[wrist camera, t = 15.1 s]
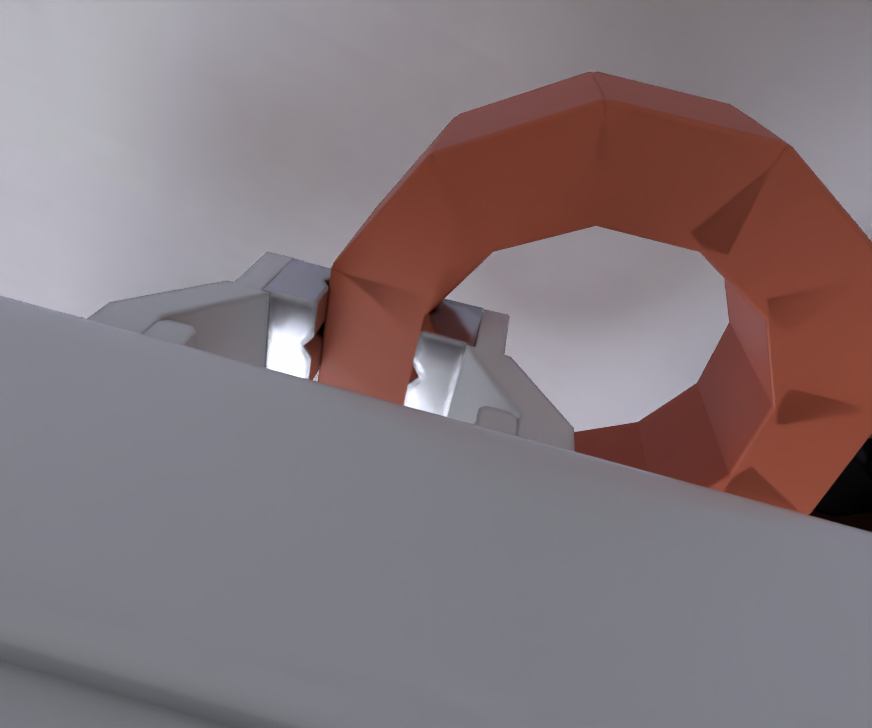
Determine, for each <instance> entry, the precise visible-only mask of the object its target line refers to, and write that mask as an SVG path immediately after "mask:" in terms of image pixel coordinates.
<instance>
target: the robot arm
mask: <svg viewBox="0 0 872 728" xmlns="http://www.w3.org/2000/svg"><path fill="white" fill-rule="evenodd" d="M330 273H331V269H330V268H327V267H323V266H320V265H316V264H312V263H309V262H305V261H302V260H298V259H294V258H293V257H290V256H285V255H281V254H277V253H272V252H266V253H265V254H264V255H263V256H262V257H261V258H260V259H259V260H258V261H257V262H256V263H255V264H253V265H252V266H251V267H250V268H249V269H248V270H247V271H246V272H245V273H244V274H243V275H242V276H241V277H239V278H238V279H237V280H236V281H235V282H230V281H222V282H217V283H211V284H206V285H200V286H195V287H190V288H184V289H179V290H173V291H168V292H162V293H157V294H152V295H146V296H141V297H135V298H130V299H125V300H119V301H114V302H109V303H108V304H107V305H105V306H104V307H103V308H101V309H100V310H98V311H97V312H96V313H94V314H93V315H91V316H90V317H89V318H87V319H85V318H81V317H77V316H74V315H70V314H66V313H63V312H59V311H55V310H52V309H48V308H44V307H40V306H37V305H33V304H29V303H26V302H22V301H18V300H15V299H11V298H7V297H4V296H0V728H872V532H869V531H866V530H862V529H858V528H855V527H851V526H847V525H843V524H840V523H836V522H832V521H829V520H825V519H821V518H818V517H814V516H810V515H807V514H803V513H799V512H796V511H792V510H788V509H784V508H781V507H777V506H773V505H770V504H766V503H762V502H759V501H755V500H751V499H748V498H744V497H740V496H736V495H733V494H729V493H725V492H722V491H718V490H714V489H711V488H707V487H703V486H700V485H696V484H692V483H689V482H685V481H681V480H677V479H674V478H670V477H666V476H663V475H659V474H655V473H652V472H648V471H644V470H641V469H637V468H633V467H629V466H626V465H622V464H618V463H615V462H611V461H607V460H604V459H600V458H596V457H593V456H589V455H585V454H581V453H578V452H575V448H574V428H573V427H572V426H571V425H570V423H569V422H568V421H567V420H566V419H565V418H564V417H563V415H562V414H561V413H560V412H559V411H558V410H557V409H556V408H555V406H554V405H553V404H552V403H551V402H550V401H549V400H548V398H547V397H546V396H545V395H544V394H543V393H542V392H541V391H540V389H539V388H538V387H537V386H536V385H535V384H534V383H533V381H532V380H531V379H530V378H529V377H528V376H527V375H526V374H525V372H524V371H523V370H522V369H521V368H520V367H519V366H518V364H517V363H516V362H515V361H514V360H513V359H512V358H511V357H510V356H506V355H504V353H505V345H506V338H507V331H508V323H509V315H508V314H504V313H499V312H495V311H490V310H485V309H484V310H483V308H481V307H476V306H472V305H468V304H464V303H460V302H456V301H452V300H447V299H443V300H442V301H441V302H440V303H439V304H438V305H437V306H436V307H435V308H434V309H433V310H432V311H431V312H430V313H429V314H427V315H426V317H425V320H424V323H423V326H422V328H421V331H420V334H419V339H418V343H417V347H416V351H415V356H414V360H413V366H414V369H413V372H412V375H411V377H410V380H409V383H408V386H407V391H406V396H405V400H404V405H401V404H397V403H394V402H390V401H386V400H383V399H379V398H375V397H371V396H368V395H364V394H360V393H357V392H353V391H349V390H346V389H342V388H338V387H335V386H331V385H327V384H324V383H320V382H316V381H313V378H314V377H315V375H316V373H317V372H318V370H319V366H320V359H321V351H322V344H323V333H324V325H325V320H326V311H327V303H328V294H329V282H330ZM482 311H483V312H482Z"/></svg>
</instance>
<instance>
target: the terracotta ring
mask: <svg viewBox="0 0 872 728" xmlns="http://www.w3.org/2000/svg"><path fill="white" fill-rule="evenodd" d="M593 226H599V227H603V228H607V229H611V230H615V231H619V232H623V233H627V234H631V235H635V236H639V237H643V238H647V239H651V240H655V241H659V242H663V243H667V244H671V245H675V246H679V247H683V248H687V249H690V250H694V251H698V252H700V253H701V254H702V255H703V256H704V257H705V258H706V259H707V260H708V261H709V262H710V263H711V265H712V266H713V267H714V268H715V269H716V270H717V271H718V272H719V273H720V274H721V275H722V276H723V277H724V280H725V289H726V298H727V307H728V315H729V324H728V326H727V328H726V330H725V332H724V333H723V335H722V337H721V339H720V341H719V343H718V345H717V347H716V348H715V350H714V352H713V354H712V356H711V358H710V360H709V362H708V364H707V365H706V367H705V369H704V371H703V373H702V375H701V377H700V379H699V380H698V382H697V383H696V384H695V385H693V386H692V387H690V388H689V389H687V390H686V391H684V392H683V393H681V394H680V395H678V396H677V397H675V398H674V399H672V400H671V401H669V402H668V403H666V404H665V405H663V406H662V407H660V408H659V409H657V410H656V411H654V412H652V413H651V414H649V415H648V416H646V417H645V418H643V419H642V420H640V421H639V422H635V423H629V424H623V425H617V426H610V427H604V428H598V429H591V430H585V431H579V432H574V448H575V452H578V453H581V454H585V455H589V456H593V457H596V458H600V459H604V460H607V461H611V462H615V463H618V464H622V465H626V466H629V467H633V468H637V469H641V470H644V471H648V472H652V473H655V474H659V475H663V476H666V477H670V478H674V479H677V480H681V481H685V482H689V483H692V484H696V485H700V486H703V487H707V488H711V489H714V490H718V491H722V492H725V493H729V494H733V495H736V496H740V497H744V498H748V499H751V500H755V501H759V502H762V503H766V504H770V505H773V506H777V507H781V508H784V509H788V510H792V511H796V512H799V513H803V514H807V515H809V514H810V513H811V512H812V511H813V510H814V508H815V507H816V506H817V504H818V503H819V502H820V500H821V499H822V498H823V496H824V495H825V494H826V493H827V491H828V490H829V489H830V487H831V486H832V485H833V483H834V482H835V481H836V479H837V478H838V477H839V476H840V474H841V473H842V472H843V470H844V469H845V468H846V466H847V465H848V464H849V462H850V461H851V460H852V459H853V457H854V456H855V455H856V453H857V452H858V451H859V449H860V448H861V447H862V445H863V444H864V443H865V442H866V440H867V439H868V438H869V436H870V435H871V434H872V242H871V240H870V239H869V238H868V237H867V236H866V234H865V233H864V232H863V231H862V230H861V228H860V227H859V226H858V225H857V224H856V222H855V221H854V220H853V219H852V218H851V216H850V215H849V214H848V213H847V212H846V210H845V209H844V208H843V207H842V206H841V204H840V203H839V202H838V201H837V200H836V199H835V197H834V196H833V195H832V194H831V193H830V191H829V190H828V189H827V188H826V187H825V185H824V184H823V183H822V182H821V181H820V179H819V178H818V177H817V176H816V175H815V173H814V172H813V171H812V170H811V169H810V167H809V166H808V165H807V164H806V163H805V161H804V160H803V159H802V158H801V157H800V156H799V154H798V153H797V152H796V151H795V150H794V148H793V147H792V146H790V145H789V144H788V143H786V142H785V141H783V140H782V139H780V138H779V137H778V136H776V135H775V134H773V133H772V132H770V131H769V130H767V129H766V128H765V127H763V126H762V125H760V124H759V123H757V122H756V121H755V120H753V119H752V118H750V117H749V116H747V115H746V114H745V113H743V112H742V111H740V110H739V109H737V108H735V107H734V106H732V105H731V104H727V103H723V102H719V101H715V100H711V99H707V98H703V97H699V96H695V95H691V94H686V93H682V92H678V91H674V90H670V89H666V88H662V87H658V86H654V85H650V84H646V83H642V82H638V81H633V80H629V79H625V78H621V77H617V76H613V75H609V74H605V73H601V72H594V73H593V72H587V73H584V74H581V75H578V76H575V77H572V78H569V79H565V80H562V81H559V82H556V83H553V84H550V85H547V86H544V87H541V88H538V89H535V90H532V91H529V92H526V93H523V94H519V95H516V96H513V97H510V98H507V99H504V100H501V101H498V102H495V103H492V104H489V105H486V106H483V107H480V108H477V109H473V110H470V111H467V112H464V113H461V114H459V115H458V116H456V117H454V118H453V119H452V120H451V122H450V123H449V124H448V125H447V126H446V127H445V129H444V130H443V131H442V132H441V133H440V134H439V136H438V137H437V138H436V139H435V140H434V141H433V142H432V144H431V145H430V146H429V147H428V148H427V149H426V151H425V152H424V153H423V154H422V155H421V156H420V158H419V159H418V160H417V161H416V162H415V163H414V164H413V166H412V167H411V168H410V169H409V170H408V171H407V173H406V174H405V175H404V176H403V177H402V178H401V179H400V181H399V182H398V183H397V184H396V185H395V186H394V188H393V189H392V190H391V191H390V192H389V193H388V195H387V196H386V197H385V198H384V199H383V200H382V201H381V203H380V204H379V205H378V206H377V207H376V208H375V210H374V211H373V212H372V214H371V215H370V216H369V217H368V219H367V220H366V221H365V223H364V224H363V225H362V227H361V228H360V229H359V230H358V232H357V233H356V234H355V236H354V237H353V238H352V240H351V241H350V242H349V243H348V245H347V246H346V247H345V249H344V250H343V251H342V252H341V254H340V255H339V256H338V258H337V259H336V260H335V262H334V263H333V266H332V268H331V273H330V282H329V294H328V303H327V311H326V320H325V325H324V333H323V344H322V351H321V359H320V367H319V376H318V382H320V383H324V384H327V385H331V386H335V387H338V388H342V389H346V390H349V391H353V392H357V393H360V394H364V395H368V396H371V397H375V398H379V399H383V400H386V401H390V402H394V403H397V404H401V405H404V400H405V396H406V391H407V386H408V383H409V380H410V377H411V375H412V372H413V369H414V366H413V360H414V356H415V351H416V347H417V343H418V339H419V334H420V331H421V328H422V326H423V323H424V320H425V317H426V315H427V314H429V313H430V312H431V311H432V310H433V309H434V308H435V307H436V306H437V305H438V304H439V303H440V302H441V301H442V300H443V299H444V298H445V297H446V296H447V295H448V294H449V293H450V292H451V291H453V290H454V289H455V288H456V287H457V286H458V285H459V284H460V283H461V282H462V281H463V280H464V279H465V278H466V277H467V276H468V275H469V274H470V273H471V272H472V271H473V270H474V269H476V268H477V267H478V266H479V265H480V264H481V263H482V262H483V261H484V260H485V259H486V258H487V257H488V256H489V255H490V254H491V253H492V252H494V251H498V250H502V249H506V248H510V247H514V246H518V245H522V244H526V243H529V242H533V241H537V240H541V239H545V238H549V237H553V236H557V235H561V234H565V233H569V232H573V231H577V230H581V229H585V228H589V227H593Z"/></svg>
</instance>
